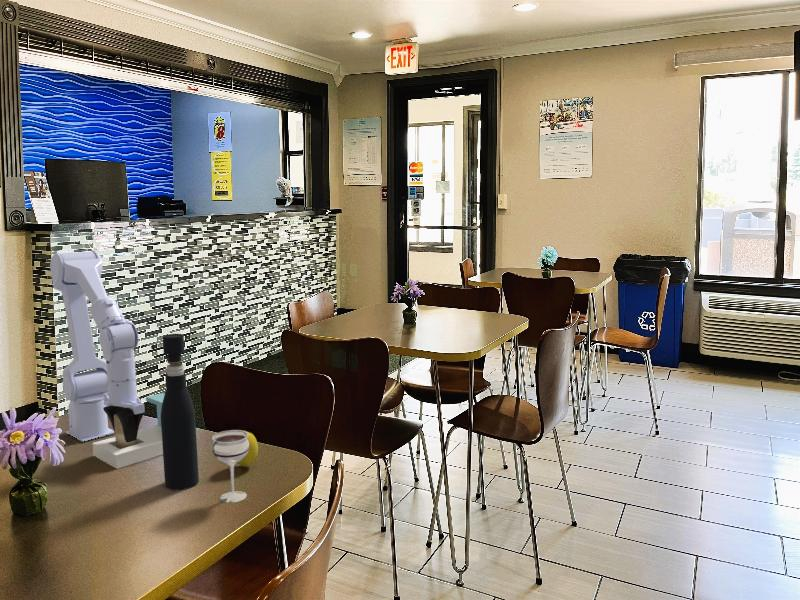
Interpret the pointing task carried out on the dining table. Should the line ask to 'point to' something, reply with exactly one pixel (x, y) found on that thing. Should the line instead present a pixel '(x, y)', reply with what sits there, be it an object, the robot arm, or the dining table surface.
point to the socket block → (145, 443)
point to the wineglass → (231, 456)
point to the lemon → (250, 451)
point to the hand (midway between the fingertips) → (126, 438)
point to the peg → (121, 435)
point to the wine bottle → (178, 421)
